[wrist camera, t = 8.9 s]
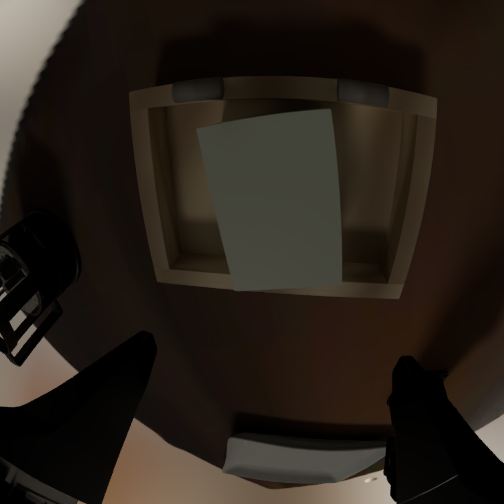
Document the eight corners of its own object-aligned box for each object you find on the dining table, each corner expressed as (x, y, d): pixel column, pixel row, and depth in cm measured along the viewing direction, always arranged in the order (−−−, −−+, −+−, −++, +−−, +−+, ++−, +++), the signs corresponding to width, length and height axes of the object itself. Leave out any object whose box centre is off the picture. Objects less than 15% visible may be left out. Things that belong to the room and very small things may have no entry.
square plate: (224, 460, 49) (221, 474, 46) (233, 416, 35) (228, 438, 32) (337, 471, 48) (336, 485, 44) (397, 429, 34) (399, 449, 30)
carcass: (415, 98, 13) (447, 98, 9) (388, 272, 20) (403, 310, 16) (154, 92, 16) (117, 92, 12) (173, 258, 22) (150, 291, 18)
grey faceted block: (321, 108, 14) (331, 108, 10) (334, 245, 18) (342, 284, 14) (221, 122, 15) (196, 128, 12) (247, 252, 20) (234, 291, 16)
